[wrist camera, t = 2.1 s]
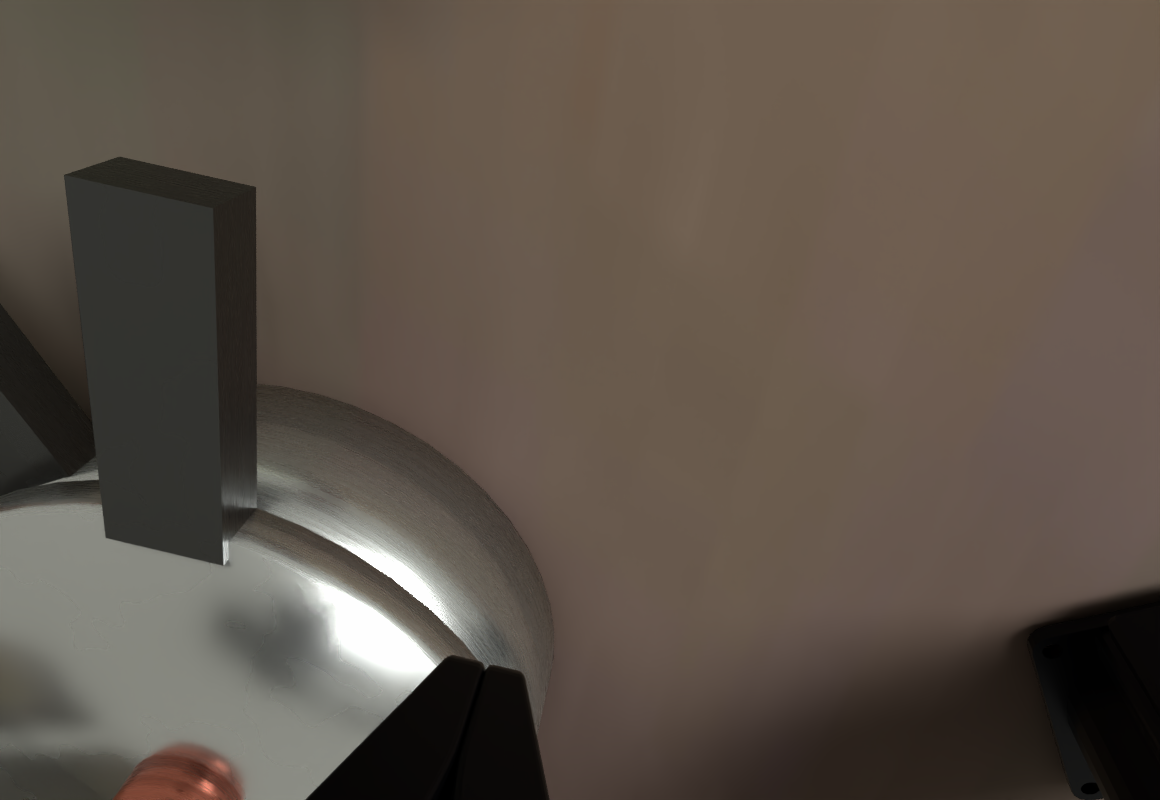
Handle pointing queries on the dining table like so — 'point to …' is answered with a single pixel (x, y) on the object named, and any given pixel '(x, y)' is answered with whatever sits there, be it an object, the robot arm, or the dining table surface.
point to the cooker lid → (183, 542)
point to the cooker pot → (331, 502)
